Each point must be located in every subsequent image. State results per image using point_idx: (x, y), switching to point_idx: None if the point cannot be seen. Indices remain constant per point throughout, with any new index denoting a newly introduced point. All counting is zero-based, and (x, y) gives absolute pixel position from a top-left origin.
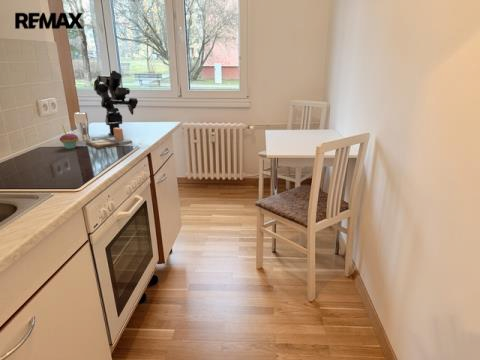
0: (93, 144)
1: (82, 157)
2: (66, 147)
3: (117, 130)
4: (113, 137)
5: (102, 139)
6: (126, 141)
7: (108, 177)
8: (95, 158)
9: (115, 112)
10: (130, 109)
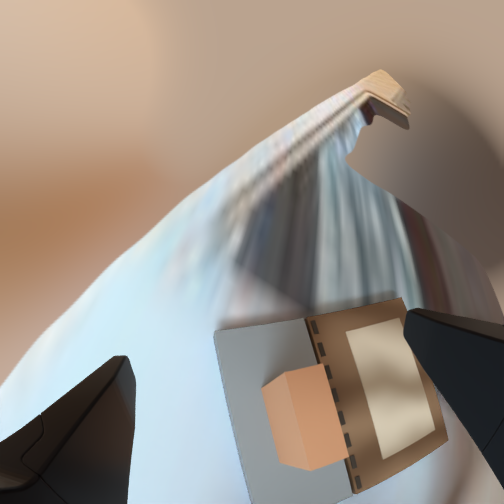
0: None
1: (418, 224)
2: None
3: (322, 376)
4: (308, 502)
5: (379, 464)
6: (255, 327)
7: (336, 94)
8: (382, 191)
9: (426, 310)
10: (102, 490)
